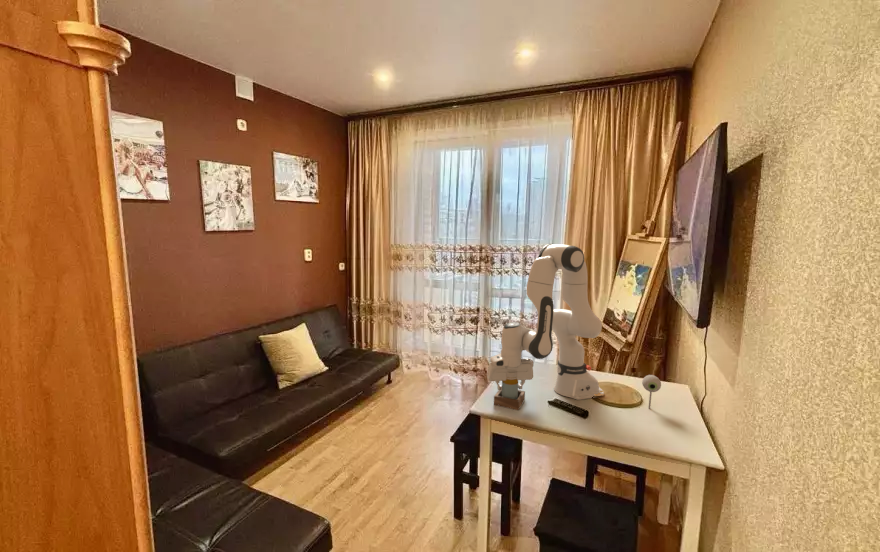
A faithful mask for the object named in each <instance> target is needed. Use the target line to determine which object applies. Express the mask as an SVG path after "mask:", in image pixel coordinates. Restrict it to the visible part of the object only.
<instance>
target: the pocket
mask: <svg viewBox="0 0 880 552" xmlns="http://www.w3.org/2000/svg"><path fill="white" fill-rule="evenodd" d="M501 389H502V388H501ZM525 396H526V391H524V390H522V389H518V399H517V400H515V399H511V398H506V397H502V390H498V389H497V392H496V393H495V394H494V395H493V406H497V407H502V408H506V409H509V410H510V409H511V410H516V411H519V410H520V409H521V406H522V405H523V404H524V402H525V399H526V397H525Z"/></svg>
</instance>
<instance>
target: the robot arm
mask: <svg viewBox="0 0 880 552" xmlns="http://www.w3.org/2000/svg"><path fill="white" fill-rule="evenodd" d="M558 270H561V271H562V272H561V273H562V276H561V277H562V279H561V298H562V300H563V302H565V303H566V304H567V305H568V307H569V308H570V309H566V308H554V307H555V306H554V299H553V289H554V284H555V277H556V274H557V272H558ZM588 276H589V275H588V267H587V263H586V261H585V254H584V251H583V250H582V249H581V248H579V247H578V246H576V245H569V244H564V243H560V244H559V243H558V244H555V243H548V244H545V245H543V247H542V248H541V249H540V251H539V254H538V257H537V258H535V259H534V261H533V263H532V265H531V267H530V270H529V275H528V277H527V284H526V295H527V297H528V299H529V300H530V302H531V303H532V304H533V306H534V307H535V308H536V311H537V322H536V323H537V324H536V330H535V329H533V328H529V327H526V326H525V325H523V324H521V323H520V322H517V321H516V322H514V321H513V322H507V323H506V324H504V326H502V327H503V328H502V330H501V331H502V332H501V341H500V342H501V350H500V353H498V354H496V355H493V356H490V358H489V360H490V362H489V364H488V366H487V372H486V373H487V375H486V376H487V379H488V380H489V382H495V384H496V386H497V391H498V390H502V389H501V388H502V384H500V383H501V382H502V381H505V380H506V372H517V380H518V381H520V382H519V383H518V390H523V386H524V384H525V383H526V381H528V380H529V381H530V380H533V379H534V360H533V359H531V358H522V352H523V351H526V352H527V353H529V354H530V355H531V356H532V357H534V359H537V360H543V359H545V358H547V357H548V356H550V354H551V353H552V351H553V348H554V345H553V343H554V341H553V337H552V335H553V334H552V332H553V333H554V335H555V336H556V339H557V342H558V360H557V367H556V369H557V370H556V371H557V375H556V380H555V384H554V386H553V390H554V391H555V392H556V393H557V394H559V395H561V396H564V397H569V398H572V399H574V400H578V401H580V400H581V401H582V400H585V399H586V400H587V399H593V398H594V397H593V396H595V395H594V394H598V393H600V394H604V395H605V393H604V390H603V389H602V388H601V387H600V385H599V382H598V379H597V378H596V377H595V376H594V375H593V374H591V373H590V372H589V371H591V370H592V366H590V365H588V364H587V363H585V360H584V359H585V347H584V346H583V344H582V343H581V342H580V341H578V339H577V337H580V338H585V339H595V338H597V337H599V336H600V334H601V332H602V329H603V326H602V325H603V324H602V321H601V319H600V318H599V317H598V316H597V315H596V314H595V312H594V311H593V310H592V308H591V305H590V302H589V298H588V295H589V294H588V285H589V284H588V279H589V278H588ZM576 336H577V337H576ZM600 391H603V392H600ZM592 397H593V398H592Z"/></svg>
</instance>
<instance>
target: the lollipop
mask: <svg viewBox="0 0 880 552" xmlns="http://www.w3.org/2000/svg"><path fill="white" fill-rule="evenodd" d="M641 382H642V387H643V388H644V389H645V390H646V391H647V392H649V398H648V409H649V410H651V406H652V393H656V392H658V391H659V390H660V389H661V387H662V381H661V379H659V377H657V376H656V375H653V374H648V375H645V376H643V379H642V381H641Z"/></svg>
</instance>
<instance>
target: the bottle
mask: <svg viewBox="0 0 880 552" xmlns="http://www.w3.org/2000/svg"><path fill="white" fill-rule="evenodd" d="M518 384H519V380H517V372H506V380H505V381H501V386H502V397H506V398H511V399H515V400H517V399H518V390H519V388H518Z"/></svg>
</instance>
